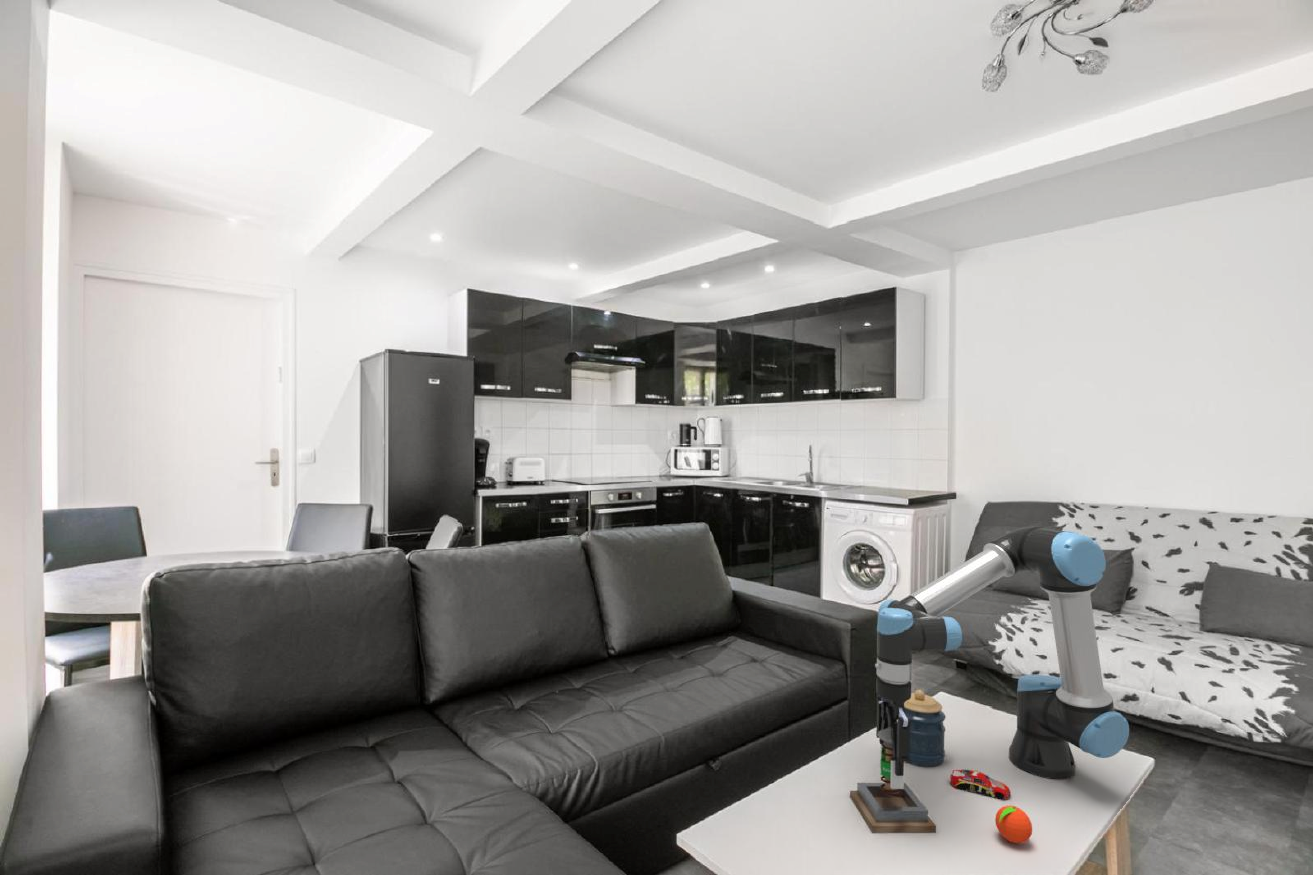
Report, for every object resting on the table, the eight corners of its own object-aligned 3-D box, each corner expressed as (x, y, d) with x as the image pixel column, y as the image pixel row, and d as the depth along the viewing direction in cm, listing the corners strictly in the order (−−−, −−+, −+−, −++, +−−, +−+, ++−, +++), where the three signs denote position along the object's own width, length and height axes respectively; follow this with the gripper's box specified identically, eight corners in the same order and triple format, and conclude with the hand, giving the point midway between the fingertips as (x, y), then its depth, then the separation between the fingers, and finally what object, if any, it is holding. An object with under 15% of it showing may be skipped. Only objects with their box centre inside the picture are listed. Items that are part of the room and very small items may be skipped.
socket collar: (904, 793, 151) (905, 782, 151) (927, 822, 139) (928, 810, 139) (857, 793, 150) (857, 782, 150) (876, 822, 139) (876, 811, 139)
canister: (948, 752, 175) (949, 688, 175) (940, 772, 164) (941, 704, 164) (898, 740, 182) (899, 678, 182) (888, 758, 171) (889, 692, 171)
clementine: (1013, 855, 131) (1014, 820, 131) (984, 836, 137) (984, 803, 138) (1039, 846, 134) (1040, 812, 134) (1009, 827, 141) (1010, 795, 141)
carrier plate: (907, 796, 152) (907, 790, 152) (936, 832, 138) (936, 825, 138) (849, 796, 152) (850, 790, 152) (872, 833, 138) (872, 826, 138)
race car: (1010, 793, 155) (1011, 777, 155) (1010, 804, 151) (1011, 787, 151) (951, 778, 162) (951, 762, 162) (949, 788, 157) (949, 772, 157)
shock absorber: (871, 794, 145) (873, 728, 145) (882, 783, 149) (883, 719, 150) (900, 805, 140) (901, 737, 141) (910, 793, 145) (911, 727, 145)
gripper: (862, 664, 154) (860, 761, 154) (894, 694, 136) (892, 803, 136) (893, 664, 154) (891, 761, 154) (928, 694, 136) (926, 803, 136)
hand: (891, 780), depth 145 cm, fingers closed on shock absorber, 5 cm apart
